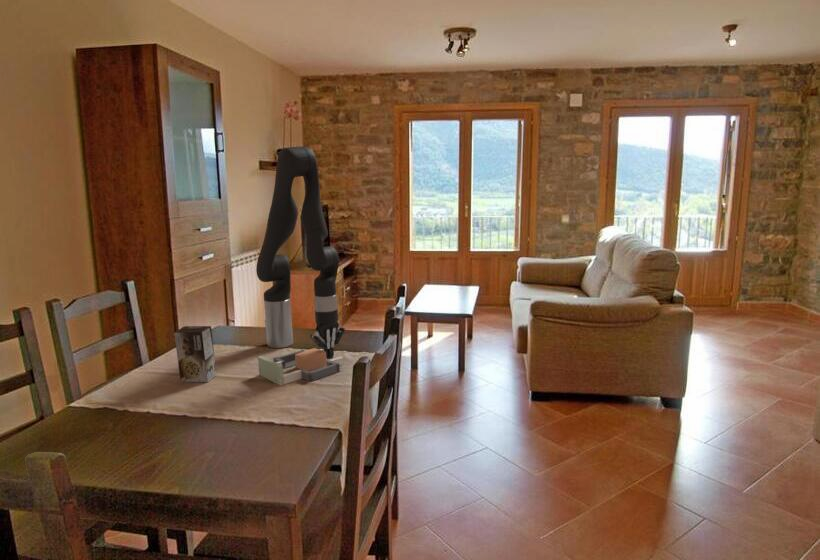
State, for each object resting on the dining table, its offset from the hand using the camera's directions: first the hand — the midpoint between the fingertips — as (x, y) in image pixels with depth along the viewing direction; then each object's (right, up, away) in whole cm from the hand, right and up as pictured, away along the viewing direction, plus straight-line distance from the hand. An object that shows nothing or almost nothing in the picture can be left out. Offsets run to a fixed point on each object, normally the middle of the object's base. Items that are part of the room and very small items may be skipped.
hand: (329, 358), depth 177 cm
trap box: (-7, -2, -6) cm, 10 cm away
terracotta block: (-5, -2, -4) cm, 7 cm away
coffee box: (-39, -5, -12) cm, 41 cm away
